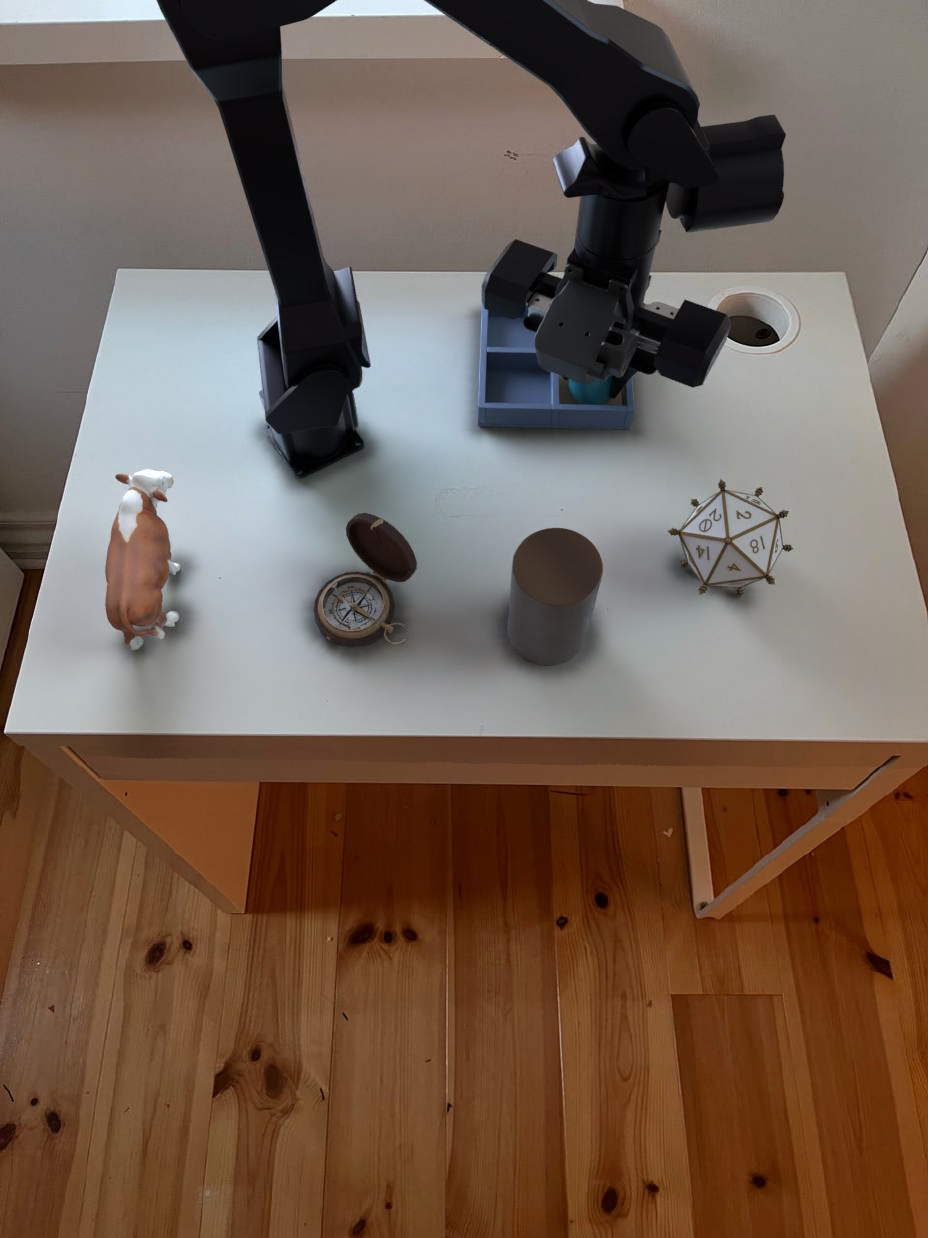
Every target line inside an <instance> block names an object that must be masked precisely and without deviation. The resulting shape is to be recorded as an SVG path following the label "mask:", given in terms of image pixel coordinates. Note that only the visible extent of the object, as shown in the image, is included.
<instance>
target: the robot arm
mask: <svg viewBox="0 0 928 1238" xmlns="http://www.w3.org/2000/svg"><path fill="white" fill-rule="evenodd" d="M155 1H156V2H157V5H158V7H159V10H160V12H161V14H162V16H163V18H164V20H165V22H166V24H167V26H168V27H169V30H170V31H171V33H172V36H173V38H174V39H175V42H176V43H177V46H178V47H179V49H180V51H181V53H182V55H183V57H184V59H185V61H186V63H187V64H188V67H189V68H190V70H191V71H192V73H193V74H194V75H195V76H196V79H198V81H199V82H200V83H201V85H202V86H203V87H204V89H205V90H206V91H207V92H208V94H209V95H210V97H211V98H212V100H213V101H214V103H215V105H216V107H217V109H218V111H219V115H220V118H221V122H222V124H223V127H224V131H225V134H226V137H227V140H228V143H229V147H230V150H231V153H232V157H233V159H234V164H235V167H236V169H237V174H238V177H239V179H240V183H241V185H242V189H243V192H244V196H245V198H246V202H247V205H248V209H249V211H250V215H251V218H252V221H253V224H254V228H255V232H256V234H257V238H258V241H259V244H260V247H261V250H262V253H263V257H264V260H265V263H266V266H267V270H268V274H269V276H270V279H271V283H272V286H273V289H274V295H275V296H274V297H275V308H276V316H275V317H274V318H273V319H272V320H271V321H270V322H269V323H268V324H267V326H266V327H265V328H264V329H263V330H262V331H261V332H260V333H259V335H257V336H256V343H257V353H258V363H259V372H260V382H261V390H259V392H258V394H259V398H260V401H261V404H262V408H263V411H264V420H265V422H266V424H265V425H264V430H265V431H264V432H265V434H267V436H268V438H269V440H270V441H271V443H272V444H273V446H274V447H275V448H276V450H277V452H278V453H279V455H280V456H281V458H282V459H283V460H284V462H285V464H286V465H287V467H288V468H289V469H290V471H291V473H292V475H293V476H294V477H295V478H296V479H298V480H303V479H305V478H307V477H310V476H311V475H313V474H315V473H318V472H319V471H322V470H324V469H326V468H328V467H330V466H332V465H334V464H336V463H338V462H340V461H343V460H344V459H346V458H348V457H351V456H353V455H354V454H356V453H359V452H361V451H362V450H363V449H364V448H365V441H364V439H363V438H362V436H361V435H360V434H359V432H358V431H357V430H356V429H357V428H359V424H360V422H359V417H358V411H357V406H356V405H357V404H356V399H355V394H354V392H353V391H355V390H356V389H359V388H360V387H361V386H362V383H363V368H365V369H370V368H371V360H370V353H369V348H368V342H367V337H366V331H365V326H364V325H365V324H364V321H363V314H362V309H361V303H360V302H359V301H360V300H358V297H357V289H356V284H355V280H354V274H353V273H354V272H353V268H352V267H351V266H348V267H345V268H342V269H341V268H340V269H338V270H335V271H334V270H333V268H332V267H331V266H330V265H329V264H328V262H327V261H326V259H325V256H324V252H323V249H322V244H321V240H320V236H319V231H318V228H317V223H316V218H315V214H314V210H313V207H312V202H311V197H310V194H309V190H308V186H307V185H308V184H307V181H306V176H305V173H304V168H303V164H302V159H301V156H300V152H299V151H300V150H299V147H298V143H297V142H298V141H297V138H296V134H295V130H294V124H293V120H292V117H291V114H290V110H289V104H288V101H287V97H286V92H285V87H284V82H283V50H282V34H281V33H282V32H281V27H284V26H288V25H291V24H295V23H299V22H303V21H306V20H308V19H311V18H313V17H314V16H316V15H317V14H318V13H320V12H322V11H323V10H324V9H327V8H328V7H330V6H331V5H332V4H334V3H335V2H337V1H338V0H155ZM423 1H424V2H426V3H427V4H429V5H430V6H432V7H433V8H434V9H436V10H437V11H439V12H440V13H442V14H443V15H444V16H446V17H447V18H449V19H451V21H453V22H455V24H458V25H459V26H461V27H462V28H463V29H465V30H466V31H467V32H469V33H471V34H472V35H474V36H475V37H476V38H478V39H480V41H482V42H484V43H486V44H487V45H488V46H490V47H491V48H492V49H494V50H495V51H497V52H499V54H502V56H504V57H506V58H507V59H509V60H510V61H512V62H513V63H515V64H516V65H517V66H519V67H520V68H522V69H523V70H524V71H526V72H528V73H529V74H531V75H532V76H534V77H535V78H536V79H538V80H539V81H540V82H542V83H544V84H545V85H546V86H548V87H549V88H550V90H552V91H553V93H555V94H556V96H558V97H559V99H560V100H561V101H562V102H563V103H564V105H565V107H566V108H567V109H568V110H569V111H570V113H571V114H572V116H573V117H574V118H575V120H576V121H577V122H578V124H579V125H580V127H582V129H583V131H584V132H585V133H586V134H587V135H588V136H589V137H590V138H591V139H592V140H593V142H594V143H591V142H589V141H588V140H587V138H586V137H584V136H580V137H578V138H577V139H576V141H575V142H574V143H573V144H572V145H570V146H569V147H565V148H564V149H562V150H561V151H559V152H558V153H557V154H555V156H553V158H552V165H553V169H554V171H555V174H556V177H557V179H558V182H559V185H560V188H561V191H562V194H563V196H564V197H565V198H567V199H572V198H579V203H578V204H579V206H578V214H577V222H576V229H575V238H574V244H573V249H572V250H571V252H570V253H569V255H568V257H566V265H565V267H564V272H563V277H562V278H561V277H559V276H556V275H553V274H551V272H553V271H554V270H555V269H556V267H557V266H558V258H559V257H558V256H559V254H557V253H555V252H554V251H551V250H547V249H545V248H542V247H540V246H537V245H533V244H531V243H528V242H525V241H522V240H519V239H517V238H515V239H513V240H512V241H510V242H509V243H507V245H506V246H505V247H504V249H503V250H502V251H501V253H500V254H499V255H498V257H497V259H496V260H495V261H494V262H493V264H492V265H491V266H490V268H489V269H488V270H487V272H486V273H485V275H484V278H483V281H482V284H481V305H482V304H483V306H484V309H487V310H489V311H492V312H495V313H497V314H500V315H502V316H505V317H508V318H510V319H513V320H514V319H516V318H518V317H520V316H522V315H523V314H524V313H525V311H526V305H527V306H528V315H527V316H526V318H525V319H524V321H523V325H524V327H525V328H526V329H528V330H530V331H533V332H536V335H535V337H534V345H535V350H536V355H537V360H538V364H539V366H540V367H541V368H542V369H543V370H545V371H548V372H553V373H556V374H558V375H561V376H562V377H563V379H565V380H568V379H571V380H573V381H574V382H576V383H578V384H582V385H587V384H591V383H593V382H594V381H595V380H596V379H598V380H601V381H604V382H605V381H606V380H607V378H608V376H610V375H613V376H616V377H615V379H614V382H613V385H612V388H611V395H610V397H611V398H613V399H615V398H616V396H617V395H618V394H619V393H620V391H621V390H622V389H623V387H624V386H625V385H626V383H627V382H628V381H629V380H630V378H631V377H632V378H633V377H634V376H635V375H636V374H637V373H641V374H644V375H646V376H651V375H655V374H656V373H657V372H658V373H659V375H660V376H661V377H664V378H666V379H669V380H672V381H674V382H676V383H679V384H682V385H684V386H686V387H689V388H697V387H701V386H703V385H704V383H705V381H706V379H707V377H708V375H709V373H710V372H711V370H712V368H713V367H714V365H715V363H716V361H717V358H718V357H719V355H720V353H721V351H722V350H723V347H724V346H725V344H726V342H727V339H728V336H729V334H730V331H731V328H732V323H731V320H730V318H729V315H728V314H727V313H724V312H722V311H720V310H719V311H718V310H716V309H713V308H711V307H708V306H705V305H702V304H699V303H696V302H693V301H690V300H688V299H684V300H683V301H682V303H681V305H680V307H675V306H672V305H669V304H667V303H664V302H661V301H653V302H651V303H645V299H646V292H647V291H648V289H649V287H650V285H651V282H652V281H651V280H652V275H651V270H652V265H653V261H654V256H655V251H656V247H657V246H658V245H659V243H660V240H661V235H662V231H663V230H662V229H661V224H662V219H663V215H664V211H665V206H666V209H667V212H668V214H669V216H670V217H671V218H672V219H673V220H677V219H678V220H679V222H680V224H681V226H682V228H683V229H684V231H685V232H686V233H697V232H704V231H710V230H712V231H713V230H720V229H726V228H733V227H734V228H735V227H740V226H747V225H748V226H749V225H754V224H762V223H769V222H771V221H773V220H775V218H776V217H777V215H778V214H779V212H780V210H781V208H782V205H783V202H784V200H785V193H784V190H783V189H784V183H785V161H784V154H783V149H782V148H783V145H784V142H785V140H786V137H787V134H786V132H785V130H784V127H783V126H782V124H781V123H780V120H779V118H778V117H777V115H776V114H768V115H767V114H766V115H760V116H755V117H753V118H750V119H747V120H742V121H735V122H728V123H720V124H711V125H704V126H701V124H700V122H699V119H698V118H699V109H700V107H701V102H700V101H699V97H698V94H697V93H696V90H695V89H694V86H693V84H692V82H691V80H690V78H689V75H688V74H687V71H685V70H686V69H685V68H684V66H683V64H682V62H681V59H680V57H679V56H678V54H677V52H676V49H675V48H674V46H673V43H672V41H671V39H670V37H669V35H667V33H666V31H664V29H663V28H661V27H660V26H659V25H657V24H655V23H654V22H651V21H649V20H647V19H645V18H643V17H641V16H639V15H638V14H635V13H633V12H631V11H629V10H627V9H625V8H623V7H620V6H618V5H613V4H605V3H595V2H592V1H590V0H423ZM526 302H527V304H526Z"/></svg>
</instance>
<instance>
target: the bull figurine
mask: <svg viewBox="0 0 928 1238" xmlns="http://www.w3.org/2000/svg"><path fill="white" fill-rule="evenodd" d="M115 479H116V480H117V482H120V483H121V484H124V485H128V487H129V489H128V490H127V491H126V492H125V493H124V495H123V496H122V497H121V500H120V503H119V506H118V511H117V513H116V515H115V517H114V520H113V522H112V525H111V529H110V537H109V543H108V545H107V550H106V551H107V552H106V560H105V568H104V569H105V570H104V571H105V573H104V574H105V581H106V592H105V593H106V594H105V602H104V606H105V613H106V618H107V621H108V623H109V624H110V626H111V627H112V628H113V629H115V630H117V631H119V632H122V634H123V639H124V643H125V644H126V645H129V646H130V650H132V651H134V650H140V647H142V646H143V645H144V643H145V640H144V636H147V635H149V636H151V637H154V638H157V639H159V640H163V638H165V635H166V633H165V631H164V630H163V628H164V627H166V628H171V627H172V628H173V627H176V626H175V623H177V622H178V621H179V620H180V614H179V612H177V611H175V610H170V611H169V612H167V613H165V612H163V602H164V601H163V600H164V595H163V591H162V590H163V588H164V587H165V586H166V584H167V583H168V580H169V577H170V575H173V576H175V575H176V574H177V573H179V572H180V571H181V568H182V567H181V564H179V563H178V562H174V561H172V557H173V556H172V552H171V548H172V547H171V541H170V534H169V530H168V526H167V524H166V522H165V521H164V520H163V519H162V518H161V517H160V516H159V515H158V511H157V508H158V503H159V502H164V503H167V502H168V501H169V500H168V498H167V496H166V495H167V492H168V489H171V488H172V487H173V485H174V479H173V475H172V474H170V473H169V472H166V471H163V470H162V471H157V470H154V469H143V470H140V471H137V472H134V473H133V474H132V476H131V475H130V474H127V473H118V474H115ZM152 625H153V626H152ZM149 626H152V627H151V628H146V629H141V630H138V629H136V628H135V627H138V628H145V627H149Z"/></svg>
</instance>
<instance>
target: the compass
mask: <svg viewBox="0 0 928 1238" xmlns="http://www.w3.org/2000/svg"><path fill="white" fill-rule="evenodd" d="M345 534H346V535H345V536H346V538H347V541H348V543H349V545H350V547H351V549H352V550H353V552H354V553H355V554H356V556H357V557H358V558H359V559H360V561H361V562H362V563H363V564H365V565H366V566H367V567H368V568H369V569H370V570H372V572H371V573H369V572H364V571H348V572H344V573H341V574H338V575H335V576H334V577H333V578H331V579H330V580H328V581H327V582H326V583H324V584H323V586H322V587H321V588H320V589H319V591H318V593H317V595H316V597H315V599H314V604H313V615H314V619H315V624H316V625H317V627H318V628H319V630H320V632H321V633H322V635H324V636H325V637H326V638H325V639H327V640H328V641H329V642H330V641H332V642H334V643H336V644H338V645H343V646H348V647H358V646H365V645H366V644H370V643H373V642H374V641H376V640H378V639H379V638H380V637H382V636H383V637H384V639H385V641H386V642H388V644H391V645H394V646H395V645H398V646H399V645H401V644H403V643H405V642H406V641H407V639H408V638H409V636H410V635H409V633H410V631H409V628H408V626H406V625H405V624H404V623H402V622H393V621H394V618H395V610H396V603H395V599H394V595H393V591H392V590H391V589H390V587H389V586H388V584H387V583H386V582H387V580H388V581H391V582H395V583H405V582H406V581H409V580H410V578H411V577H412V576H413V575H415V573H416V571H417V569H418V560H417V556H416V554H415V551H414V550H413V548H412V546H411V544H410V543H409V541H408V540H407V539H406V537H405V536H404V535H403V533H401V532H400V531H399V529H397V528H396V527H395V526H394V525H393V524H391V523H390V522H389V521H387V520H385V519H384V518H382V517H381V516H379V515H376V514H374V513H369V512H358V513H357V514H355V515H354V516H352V517H351V519H349V520H348V521H347V523H346V526H345ZM395 625H400V626H402V627H403V628H404V629H405V631H406V636H405V638H404V639H403V640H401V641H399V642H393V641H391V640H389V639H388V637H387V633H389V634H393V633H394V630H395V628H394V627H393V626H395Z"/></svg>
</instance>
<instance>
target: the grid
mask: <svg viewBox="0 0 928 1238" xmlns="http://www.w3.org/2000/svg"><path fill="white" fill-rule="evenodd" d="M526 304H527V302H526ZM527 315H528V306H527V305H526V311H525V313H524V314H523V315H522V316H520V317H518V318H516V319H514V320H513V319H510V318H508V317H505V316H502V315H500V314H497V313H495V312H492V311H489V310H487V309H484V306H483V304H482V303H481V317H480V346H479V371H478V372H479V373H478V397H477V398H478V400H477V427H494V428H495V427H497V428H498V427H499V428H537V429H538V428H539V429H540V428H541V429H542V428H543V429H583V430H584V429H585V430H589V429H590V430H592V429H593V430H631V427H632V423H633V418H634V413H635V401H634V400H635V399H634V386H633V384H634V383H633V376H632V377H631V378H630V380H629V381H628V382H627V383H626V385H625V386H624V387H623V389H622V390H621V391H620V393H619V394H618V395H617V396H616V398H615V399H613V398H610V399H609V400H608V401H607V402H605V403H603V404H600V405H583V404H581V403H578V402H577V401H575V400H574V399H573V398H572V397H571V396H570V394H569V392H568V387H567V386H568V380H565V379H563V377H562V376H561V375H558V374H556V373H553V372H548V371H545V370H543V369H542V368H541V367H540V366H539V364H538V360H537V355H536V350H535V345H534V337H535V335H536V332H533V331H530V330H528V329H526V328H525V327H524V325H523V321H524V319H525V318H526V316H527Z"/></svg>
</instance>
